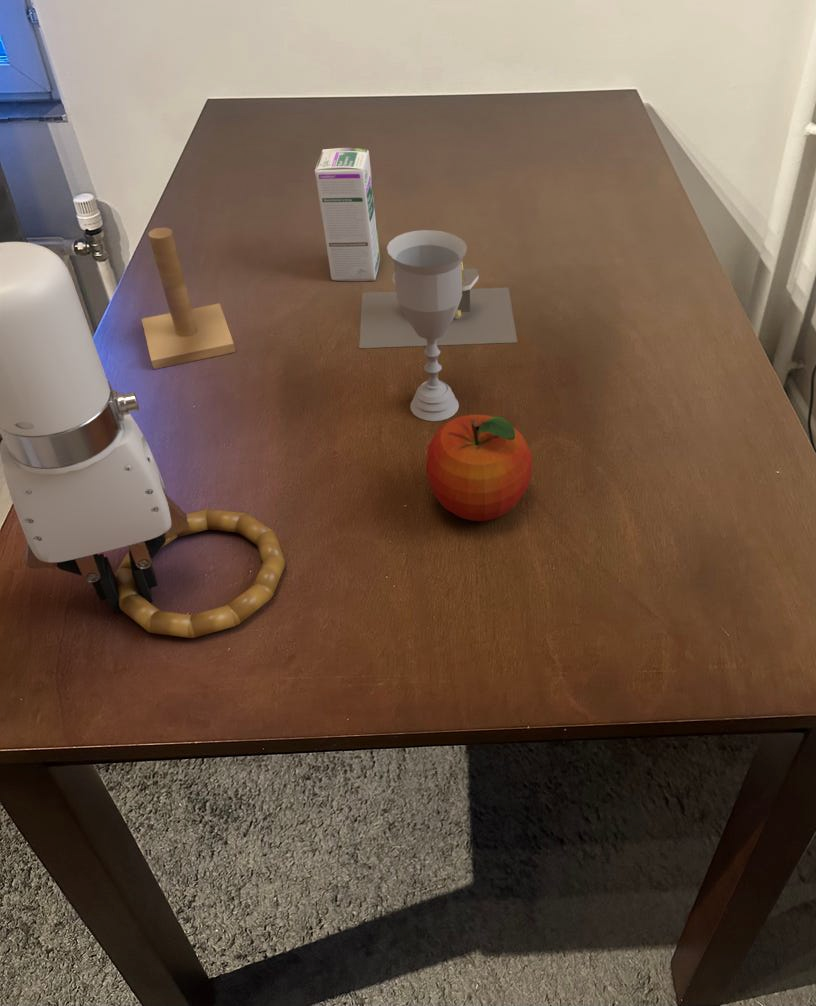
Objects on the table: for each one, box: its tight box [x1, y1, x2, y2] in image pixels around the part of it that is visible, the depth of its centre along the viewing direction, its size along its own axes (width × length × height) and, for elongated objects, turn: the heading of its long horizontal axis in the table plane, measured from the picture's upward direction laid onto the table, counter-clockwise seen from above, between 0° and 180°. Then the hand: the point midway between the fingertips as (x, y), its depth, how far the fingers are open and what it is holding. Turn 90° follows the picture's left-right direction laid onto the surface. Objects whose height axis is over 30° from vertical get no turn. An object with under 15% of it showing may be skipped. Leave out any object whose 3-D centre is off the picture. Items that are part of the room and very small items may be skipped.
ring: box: [114, 508, 286, 639], centre depth 75 cm, size 14×14×2 cm
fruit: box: [425, 414, 533, 522], centre depth 79 cm, size 10×10×10 cm
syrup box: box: [314, 147, 381, 282], centre depth 108 cm, size 6×6×14 cm
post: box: [141, 226, 236, 370], centre depth 97 cm, size 9×9×13 cm
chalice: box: [386, 229, 468, 422], centre depth 87 cm, size 7×7×18 cm
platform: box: [358, 261, 518, 349], centre depth 103 cm, size 12×18×7 cm, turn 94°
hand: (131, 594), depth 74 cm, fingers closed on ring, 1 cm apart
